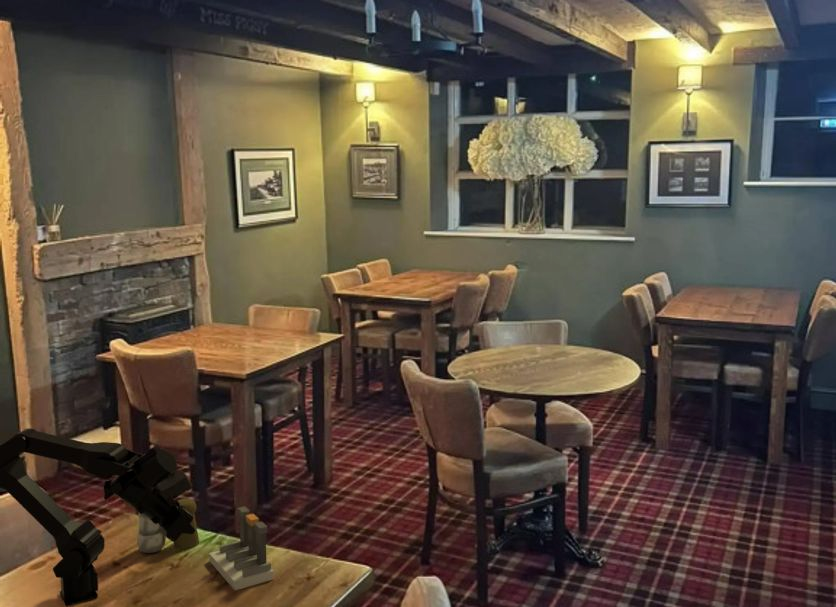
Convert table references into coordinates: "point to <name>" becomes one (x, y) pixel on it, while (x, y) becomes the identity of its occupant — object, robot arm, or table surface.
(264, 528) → the right breaker handle
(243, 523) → the handle
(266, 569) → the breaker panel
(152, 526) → the plastic bottle
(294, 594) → the table surface
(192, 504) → the olive pepper mill
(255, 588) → the table surface
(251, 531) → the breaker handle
